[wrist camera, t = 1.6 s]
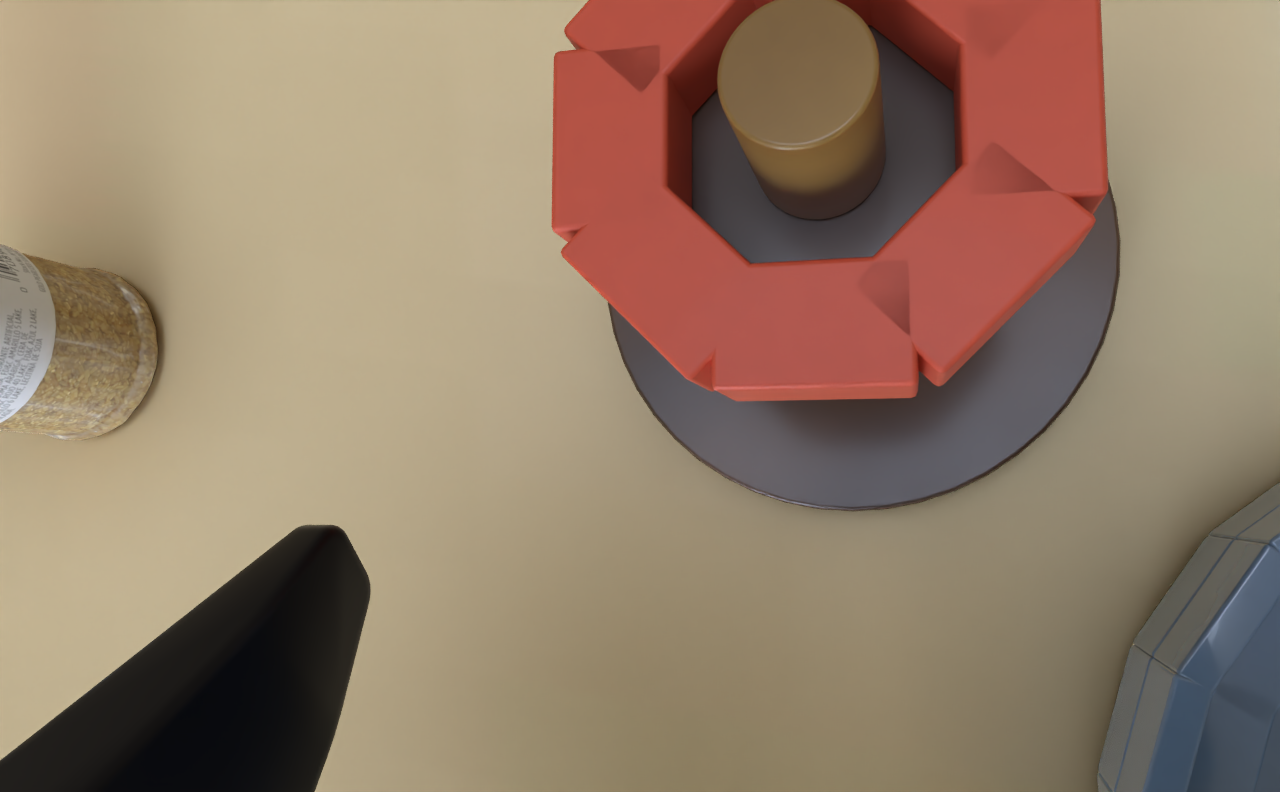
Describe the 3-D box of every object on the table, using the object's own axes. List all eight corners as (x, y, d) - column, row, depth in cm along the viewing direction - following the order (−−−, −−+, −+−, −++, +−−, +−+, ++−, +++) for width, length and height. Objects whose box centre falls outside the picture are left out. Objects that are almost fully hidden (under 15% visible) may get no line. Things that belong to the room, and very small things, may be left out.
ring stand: (1220, 297, 19) (1567, 80, 9) (813, 606, 21) (721, 715, 11) (885, -47, 22) (864, -525, 12) (540, 252, 23) (250, 62, 13)
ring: (1092, 394, 13) (1118, 381, 11) (585, 404, 15) (546, 394, 13) (1072, -111, 13) (1094, -188, 12) (589, -42, 15) (553, -103, 14)
